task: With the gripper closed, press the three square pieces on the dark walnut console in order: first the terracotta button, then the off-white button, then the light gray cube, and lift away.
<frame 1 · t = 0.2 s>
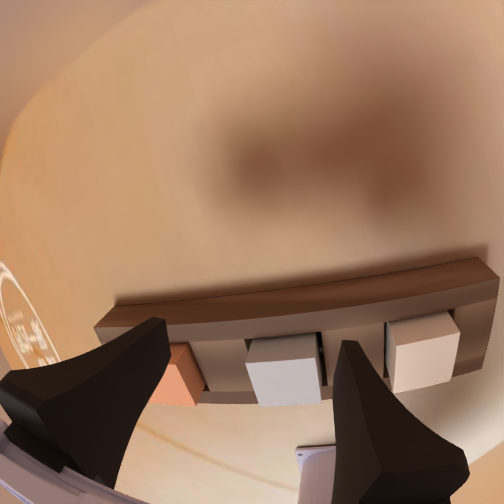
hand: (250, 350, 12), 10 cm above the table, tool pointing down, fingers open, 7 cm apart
light gray cube: (287, 366, 20), point 4 cm above the table, slide at 0.0 cm
terracotta button: (169, 370, 22), point 4 cm above the table, slide at 0.0 cm
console: (291, 334, 23), on the table
offwhite button: (419, 348, 18), point 4 cm above the table, slide at 0.0 cm
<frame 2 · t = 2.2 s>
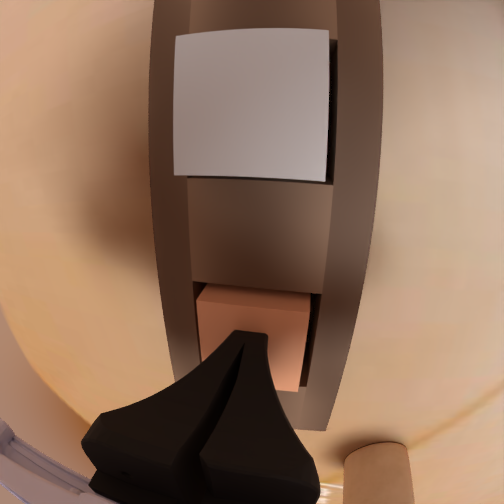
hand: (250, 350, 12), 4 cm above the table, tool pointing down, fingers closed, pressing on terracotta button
candle: (375, 456, 20), on the table
light gray cube: (258, 105, 9), point 4 cm above the table, slide at 0.0 cm
terracotta button: (257, 326, 14), point 2 cm above the table, slide at 1.3 cm, touching gripper
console: (271, 113, 12), on the table
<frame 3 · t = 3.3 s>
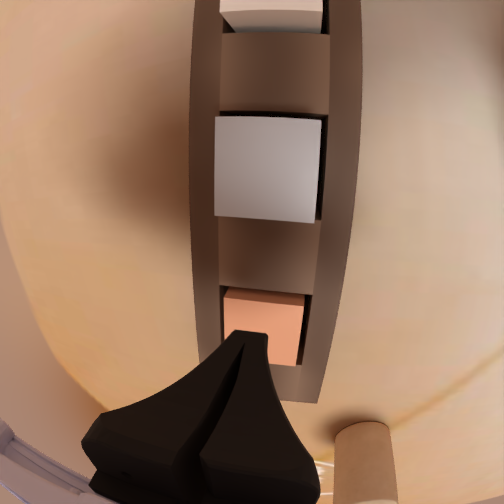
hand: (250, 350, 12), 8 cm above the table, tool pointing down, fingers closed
candle: (362, 435, 25), on the table
light gray cube: (270, 164, 14), point 4 cm above the table, slide at 0.0 cm
terracotta button: (265, 317, 18), point 2 cm above the table, slide at 1.4 cm
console: (278, 158, 17), on the table
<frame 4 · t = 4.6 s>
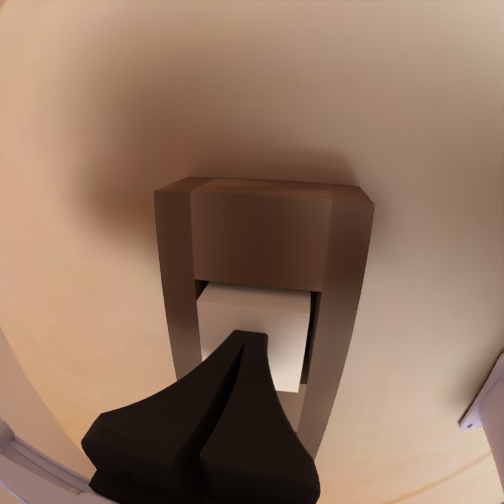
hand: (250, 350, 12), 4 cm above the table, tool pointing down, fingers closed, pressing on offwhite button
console: (260, 408, 19), on the table
offwhite button: (258, 327, 14), point 3 cm above the table, slide at 1.1 cm, touching gripper
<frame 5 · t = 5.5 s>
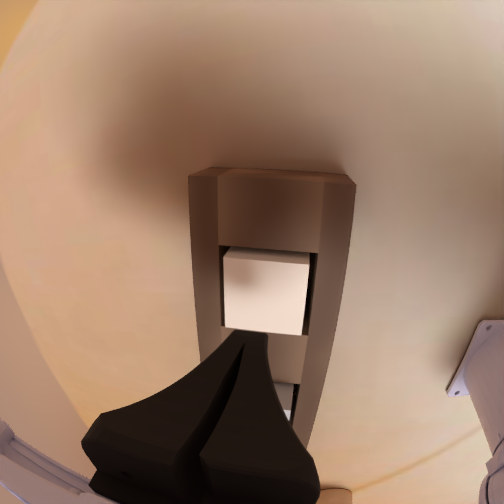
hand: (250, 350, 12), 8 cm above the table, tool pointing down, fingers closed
candle: (331, 494, 31), on the table
light gray cube: (259, 406, 19), point 4 cm above the table, slide at 0.0 cm
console: (267, 371, 23), on the table
offwhite button: (268, 283, 17), point 2 cm above the table, slide at 1.4 cm
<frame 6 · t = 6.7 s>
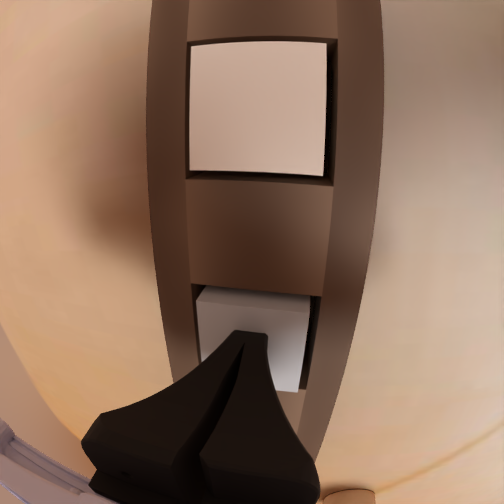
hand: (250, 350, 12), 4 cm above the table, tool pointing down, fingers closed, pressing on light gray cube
candle: (349, 496, 23), on the table
light gray cube: (257, 326, 14), point 2 cm above the table, slide at 1.4 cm, touching gripper
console: (265, 300, 16), on the table
offwhite button: (263, 108, 10), point 2 cm above the table, slide at 1.4 cm
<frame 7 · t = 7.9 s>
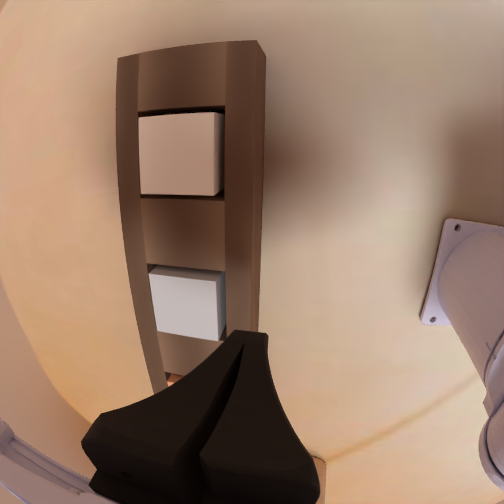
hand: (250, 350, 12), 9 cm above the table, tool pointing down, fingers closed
candle: (303, 464, 30), on the table
light gray cube: (193, 294, 20), point 2 cm above the table, slide at 1.4 cm
terracotta button: (202, 389, 23), point 2 cm above the table, slide at 1.4 cm
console: (204, 279, 22), on the table
offwhite button: (186, 152, 17), point 2 cm above the table, slide at 1.4 cm
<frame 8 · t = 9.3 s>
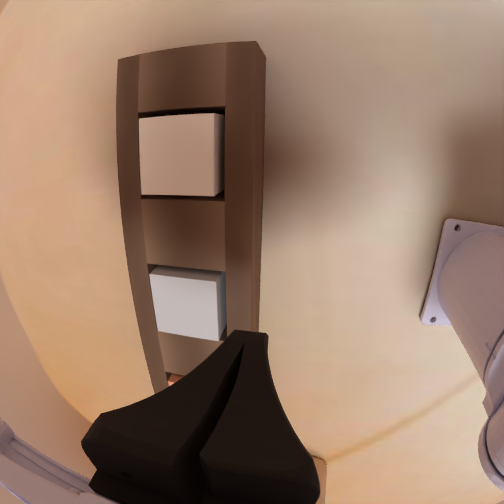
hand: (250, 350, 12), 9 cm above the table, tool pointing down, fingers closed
candle: (303, 464, 30), on the table
light gray cube: (193, 294, 20), point 2 cm above the table, slide at 1.4 cm
terracotta button: (203, 389, 23), point 2 cm above the table, slide at 1.4 cm
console: (204, 279, 22), on the table
offwhite button: (187, 152, 17), point 2 cm above the table, slide at 1.4 cm
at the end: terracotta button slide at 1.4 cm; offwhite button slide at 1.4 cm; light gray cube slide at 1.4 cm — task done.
